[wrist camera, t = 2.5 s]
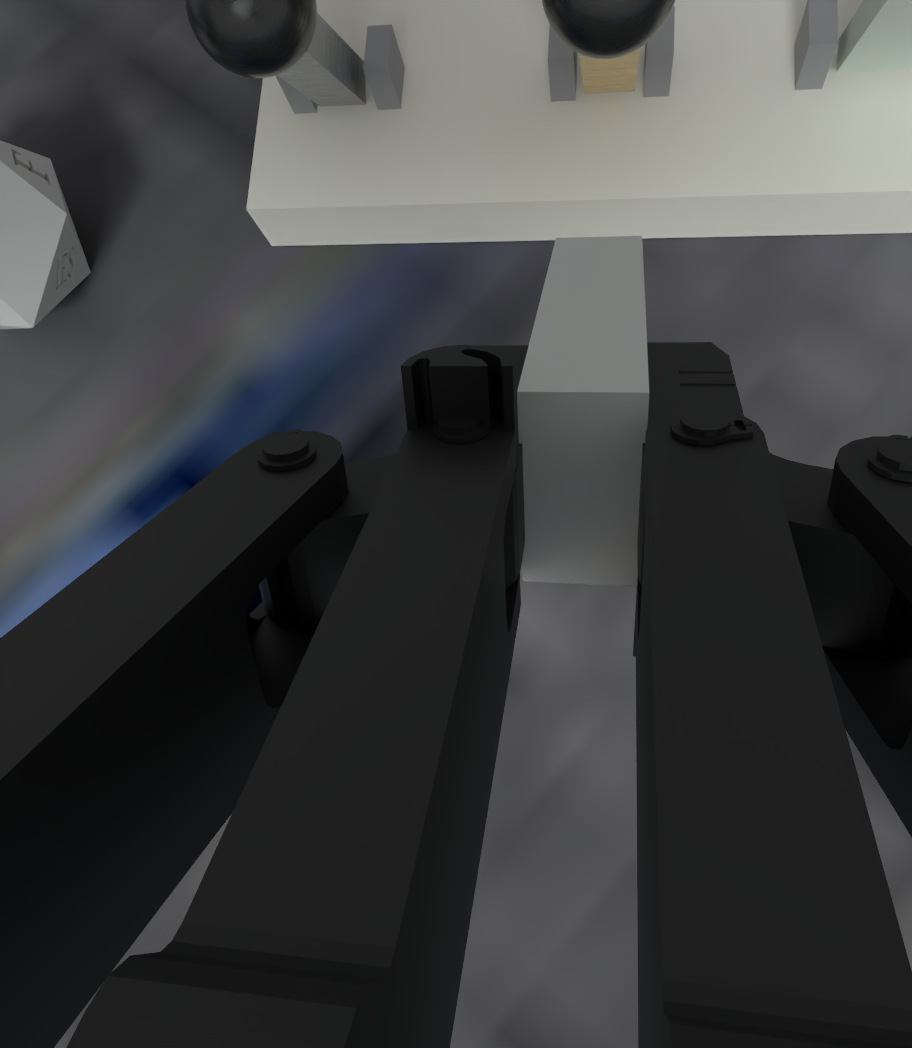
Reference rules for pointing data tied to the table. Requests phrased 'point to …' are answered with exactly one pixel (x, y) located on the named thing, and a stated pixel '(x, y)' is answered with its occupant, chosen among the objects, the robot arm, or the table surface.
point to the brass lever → (607, 37)
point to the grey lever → (281, 46)
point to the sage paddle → (877, 37)
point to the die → (34, 240)
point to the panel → (585, 131)
